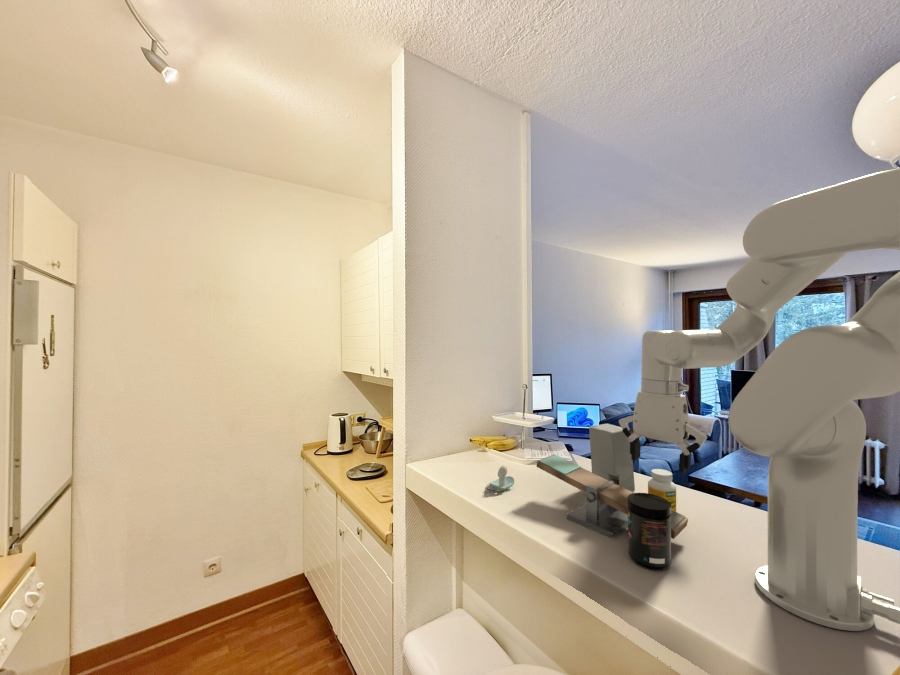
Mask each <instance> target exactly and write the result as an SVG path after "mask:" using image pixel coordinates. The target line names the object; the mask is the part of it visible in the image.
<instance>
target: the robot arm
mask: <svg viewBox="0 0 900 675" xmlns="http://www.w3.org/2000/svg"><path fill="white" fill-rule="evenodd" d="M742 245H743V247H742V248H743V250H744V252H745V254H747V256H749V257H750V258H749V259H748V260H747V261H746V262H745V263H744V264H743V265H742V266H741V267H740V268H739V269H738V270H737V271H735V273H734V274H733V275H732V276H731V277H730V278H729V279H728V281H727V282H726V286H725V288H726V292H727V293H728V296H729V297H730V299H731V300H732V301H733V302H734V303H735V304H737V305H736V307H735V308H734V310H733V311H732V313H731V314H729V316H728V317H727V318H725V320H723V322H721V324H719V325H718V326H717V327H715V329H685V330H683V329H681V330H666V329H665V330H661V329H656V330H653V329H651V330H648V331H647V330H646V331H645V332H644V333H643V334H642V338H641V339H642V340H641V342H642V344H641V374H640V375H641V378H640V380H641V382H640V387H641V388H640V390H638V391H637V395H636V398H635V404H634V409H633V415H629V416H626V417H624V418H621V419H619V420H618V423H619V425H620V426H619V427H621V428H622V429H623V430H622V431H623V433H624V434H625V435H626V436H627V438H628V441H630V454H631V455H632V456H631V459H632V460H633V461H636V460H638V459H639V458H641V445H642V444H641V440H640V437H644V438H647V439H651V440H656V441H661V442H664V443H665V442H666V443H671V444H675V445H676V446H677V447H678V448H679V450H680V451H681V453H679V458H678V459H679V464H678V470H679V471H678V472H679V473H680V474H685V473H686V472H687V471H688V470H691V466H692V463H691V462H692V453H693V452H696V451H697V450H698V449H700V448H701V447H702V446H703V445H704V443H705V442H706V441H707V439H708V436H707V435H706V434H705V433H704V432H702V431H700V430H699V429H697V428H696V427H694V426H692V425H691V424H690V421H689V420H690V418H689V410H688V401H687V397H686V395H685V394H682V393H683V392H689V388H690V386H689V384H685V383H683V380H682V370H685V369H688V370H689V369H705V368H723V367H726V366H728V365H731V364H733V363H735V362H736V361H738V360H739V359H741V358H743V357H744V356H745V355H746V354H748V353H749V352H750V351H752V350H753V349H754V348H755V347H756V346H757V345H759V344H760V343H761V342H762V341H763V340H764V339H765V337H766V336H767V335H768V333H769V331H770V329H771V327H772V325H773V324H774V321H775V316H776V314H777V313H778V311H779V310H780V309H782V308H783V307H784V306H786V304H788V303H789V302H790V301H791V300H792V299H794V298H795V297H796V296H797V295H799V293H801V292H802V291H804V290H805V288H807V287H808V286H809V285H811V284H812V283H813V282H814V281H815V280H816V279H818V278H819V277H820V276H821V275H822V274H824V273H825V272H827V271H828V269H829V268H832V266H833V265H834V264H836V263H837V262H838V261H839V260H841V259H842V257H844V256H845V255H847V254H848V253H852V252H858V251H867V250H868V251H869V250H876V249H888V250H900V167H898V168H892V169H888V170H887V169H886V170H883V171H878V172H874V173H871V174H867V175H863V176H861V177H857V178H854V179H850V180H847V181H844V182H840V183H837V184H835V185H831V186H830V185H829V186H827V187H824V188H820V189H817V190H813V191H809V192H807V193H803V194H799V195H797V196H793V197H790V198H787V199H783V200H780V201H778V202H775V203H772V204H770V205H769V206H767V207H765V208H764V209H763V210H761V211H760V212H759V213H758V214H755V216H754V217H753V218H752V219H751V220H750V222H749V223H748V224H747V226H746V227H745V230H744V232H743V235H742ZM899 392H900V271H898V272H897V273H896V274H894V275H893V276H891V277H890V278H889V279H888V280H887V281H885V282H884V283H883V284H881V286H879V288H878V289H877V290H876V291H875V292H874V293H873V294H872V296H871V297H870V298H869V299H868V301H866V303H864V304H863V306H862V307H861V308H860V309H859V310H858V311H857V312H855V314H854V315H853V316H852V317H851V318H850V319H849V320H847V321H846V322H845V323H842V324H826V325H816V326H812V327H808V328H805V329H802V330H800V331H797V332H795V333H793V334H792V335H790V336H788V337H787V338H786V339H784V340H783V341H781V342H780V343H779V345H777V346H776V348H774V349H773V350H772V352H771V353H770V354H769V355H768V357H766V359H765V360H764V362H762V364H761V365H760V367H758V369H757V370H756V371H755V373H754V374H753V375H752V376H751V378H749V380H748V381H747V382H746V383H745V385H744V386H743V387H742V389H741V390H740V391H739V392H738V394H737V395H736V396H735V398H734V400H733V401H732V404H731V405H730V408H729V412H728V426H729V429H730V431H731V434H732V436H733V437H734V439H735V440H736V442H738V443H739V445H741V447H744V449H746V450H747V451H750V452H752V453H753V454H756V455H759V456H763V457H768V458H769V463H768V467H767V468H768V469H767V565H763V566H760V567H758V568H757V569H756V570H755V572H754V582H755V584H756V586H757V588H758V590H759V591H760V592H761V593H762V594H763V595H764V596H765V597H766V598H768V599H769V600H770V601H772V603H774V604H776V605H777V606H779V607H781V608H782V609H784V610H785V611H787V612H789V613H791V614H793V615H795V616H798V617H800V618H801V619H803V620H805V621H806V620H807V621H809V622H812V623H814V624H816V625H817V624H818V625H821V626H824V627H827V628H831V629H834V630H835V629H837V630H841V631H849V632H862V631H866V630H869V629H870V628H872V627H873V626H874V623H875V615H876V616H879V617H880V618H884V619H886V620H888V621H890V622H892V623H895V624H898V625H900V607H898V606H895V599H894V598H891V597H888V596H884V595H882V594H878V593H874V592H872V591H869V590H868V588H866V587H863V586H862V577H861V575H858V503H859V499H858V498H859V492H858V491H859V473H860V465H861V461H862V455H863V451H864V447H865V442H866V436H867V422H866V418H865V415H864V413H863V411H862V409H861V408H860V406H859V405H858V404H857V403H856V402H855V401H856V400H857V401H858V400H865V399H867V400H868V399H875V398H882V397H883V398H884V397H888V396H890V395H894V394H897V393H899ZM629 423H632V429H631V427H629V426H630V425H629ZM690 435H691V436H692V437H694V438H695V441H694V442H693V443H691V444H690V442H689V441H688V439H689V436H690Z"/></svg>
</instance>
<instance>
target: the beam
mask: <svg viewBox="0 0 900 675" xmlns="http://www.w3.org/2000/svg"><path fill="white" fill-rule="evenodd" d="M536 468H538V469H540V470H542V471H544V472H545V473H548V474H549V475H552V476H553V477H555V478H557V479H558V480H561V481H563V482H565V483H566V484H568V485H571V486H572V487H574V488H576V489H577V490H580V491H582V492H583V493H585V494H586V485H591V486H594V487H597V488H599V500H600V501H602V502H604V503H606V504H608V505H610V506H612V507H614V508H616V509H618V510H619V511H621V512H623V513H625V514H627V515H628V507H627V505H628V495H630V494H632V493H635V491H634V492H632V491H630V490H627V489H625V488H623V487H621V486H619V485H617V482H616V481H615V480H610V481H609V480H606V479H604V478H602V477H600V476H598V475H596V474H594V473H592V471H589V470H588V469H586V468H584V467H582V466H580V465H578V464H576V463H574V462H572V461H571V460H567V459H565V458H563V457H561V456H559V455H558V454H552V455H549V456H547V457H545V458H541V459H538V460H537V462H536ZM688 522H689V517H686V515H683V514H681V513H680V512H677V511H676V512H675V511H673V510H671V540H675V539H676V537H677V536H678V535H679V534H681V533H682V531H683V530H684V529H685V528H686V527H687V525H688Z"/></svg>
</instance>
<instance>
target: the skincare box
mask: <svg viewBox="0 0 900 675" xmlns="http://www.w3.org/2000/svg"><path fill="white" fill-rule="evenodd" d="M588 429H589V430H588V431H589V434H588V435H589V444H590V446H589V447H590V459H591V460H590V463H591V472H592V473H594V474H596V475H598V476H600V477H602V478H604V479H606V480H609V473H613V474H617V475H620V476H621V487H623V488H625V489H627V490H630V491H632V492H634V493H635V490H636V487H635V474H634V472H635V470H634V460H632V459H631V456H632V455H631V454H630V441H628V438H627V436H626V435H625V434H624V433H623V431H622V430H623V429H622V428H621V426H617V425H615V424H611V423H602V424H596V425H591V426H589V427H588Z"/></svg>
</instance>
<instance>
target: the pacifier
mask: <svg viewBox="0 0 900 675" xmlns="http://www.w3.org/2000/svg"><path fill="white" fill-rule="evenodd" d="M507 474H508V468H507V466H506V465H502V466H500V467H499V469H498V472H497V477H498V479H495V480H493V481H490V482H489V483H487V484H486V489H487V490H489V491H496V490H497V492H504V491H506V490H507V489H509V488H512V487H513V486H514V484H515V478H514V477H513V476H507ZM491 485H492V486H491Z"/></svg>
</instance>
